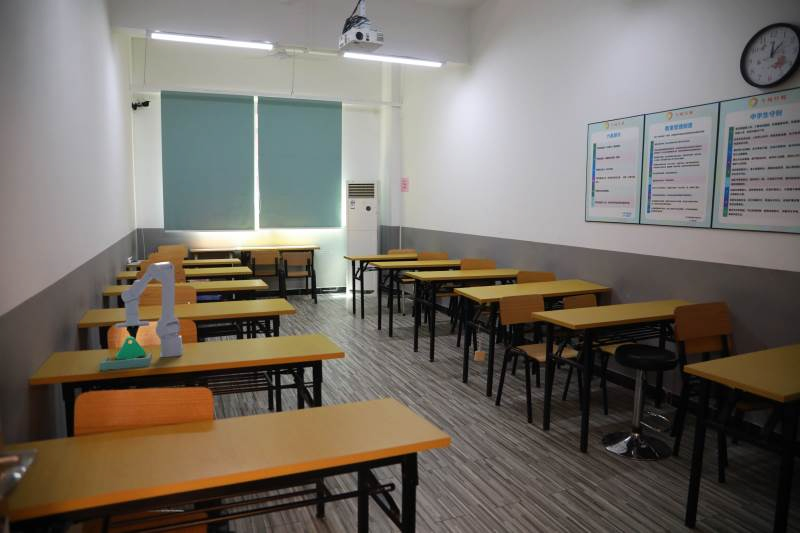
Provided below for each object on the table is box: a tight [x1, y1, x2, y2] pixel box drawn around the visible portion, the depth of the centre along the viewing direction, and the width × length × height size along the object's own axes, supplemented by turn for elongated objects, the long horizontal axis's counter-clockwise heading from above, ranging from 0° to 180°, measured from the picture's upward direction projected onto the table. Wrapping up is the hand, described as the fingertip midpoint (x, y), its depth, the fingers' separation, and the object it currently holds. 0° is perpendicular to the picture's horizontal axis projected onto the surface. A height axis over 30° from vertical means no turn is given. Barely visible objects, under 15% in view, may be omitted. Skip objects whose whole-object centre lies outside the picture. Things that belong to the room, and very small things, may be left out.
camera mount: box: [115, 336, 147, 360], centre depth 251 cm, size 12×8×10 cm, turn 122°
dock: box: [99, 352, 153, 371], centre depth 240 cm, size 19×13×4 cm
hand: (133, 341), depth 263 cm, fingers closed
